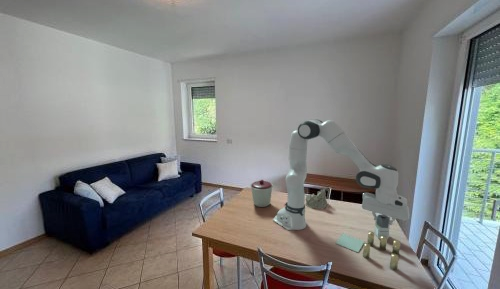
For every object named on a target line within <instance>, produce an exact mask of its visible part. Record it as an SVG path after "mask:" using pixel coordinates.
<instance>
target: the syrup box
mask: <svg viewBox="0 0 500 289" xmlns="http://www.w3.org/2000/svg"><path fill="white" fill-rule="evenodd" d="M375 214H376V216H378V215H382V214H379V213H375ZM388 217H389V216H388ZM389 218H390V219H391V217H389ZM374 225H375V226H374V235H375V236H376V237H377V238H378V239H380V236H386V237H387V240H389V238H390V237H389V235H390V226H391V225H389V227H388V228H381V227H380V226H378V225H377V221H376V220H375V224H374Z"/></svg>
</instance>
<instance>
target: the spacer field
mask: <svg viewBox="0 0 500 289" xmlns="http://www.w3.org/2000/svg"><path fill="white" fill-rule="evenodd" d="M379 239H380V240H379V246H378V247H379V249H380V250H381V251H386V249H387V242H388V239H387V237H386V236H380V238H379ZM374 240H375V231H372V230H371V231H368V233H367V241H366V242H364V244H363V252H362V258H364V259H365V260H369V259H370V257H371V256H370V255H371V247H373V246H374V242H375V241H374ZM392 242H393V243H392V251H391V252H392V253H391V254H390V255H391V256H390V262H389V263H390V264H389V268H390V270H392V271H394V272H396V271H398V267H399V258H400V249H401V241H399V240H398V239H393V241H392Z"/></svg>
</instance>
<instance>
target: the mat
mask: <svg viewBox="0 0 500 289" xmlns="http://www.w3.org/2000/svg"><path fill="white" fill-rule="evenodd" d="M364 243H365V241H364V240H361V239H359V238H357V237H356V238H355V237H354V236H350V235H349V234H346V233H342V234H341V236H339V238H338V239H337V241H335V245H338V246H341V247H343V248H345V249H348V250H350V251H352V252H355V253H357V254H358V253H359V252H360V250H361V249H362V247H363V246H364Z"/></svg>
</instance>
